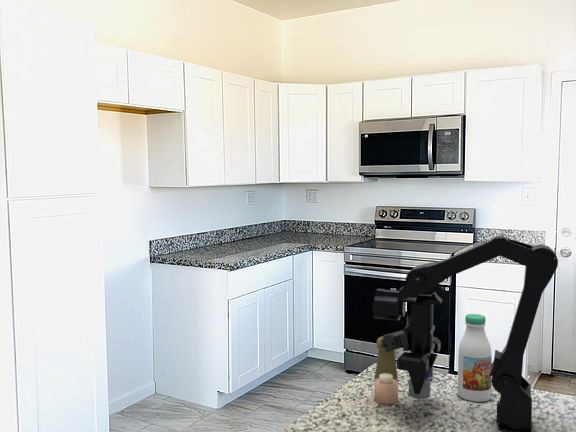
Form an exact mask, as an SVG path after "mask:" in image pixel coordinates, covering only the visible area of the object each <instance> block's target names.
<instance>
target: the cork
mask: <svg viewBox="0 0 576 432" xmlns="http://www.w3.org/2000/svg"><path fill="white" fill-rule="evenodd" d="M383 336H384V335H382V336H380V337H378V338H377V340H376V348H377V349H378V351H377V360H376V367H375V372H374V373H375V374H374V378H375V379H378V378H379V375H380V374H383V373H388V374H391V375H393V379H395V380H397V381H398V379H399V378H398V369H397V360H396V353H395V350H391V351H390V352H385V349H384V347H381V344H382V342H381V339H382V338H383Z"/></svg>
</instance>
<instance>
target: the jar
mask: <svg viewBox="0 0 576 432" xmlns="http://www.w3.org/2000/svg"><path fill="white" fill-rule="evenodd" d="M373 383H374V385H373V387H374V388H373V391H374V392H373V394H374V395H373V398H374V399H373V400H374V402H375V403H377V404H380V405H384V406H385V405H386V406H390V405H391V406H392V405H395V404H397V403H399V382H398V379H397V380H395V379H393V375H391V374H388V373H383V374H380V375H379V378H378V379H376V378H375V379H374V381H373Z"/></svg>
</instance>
